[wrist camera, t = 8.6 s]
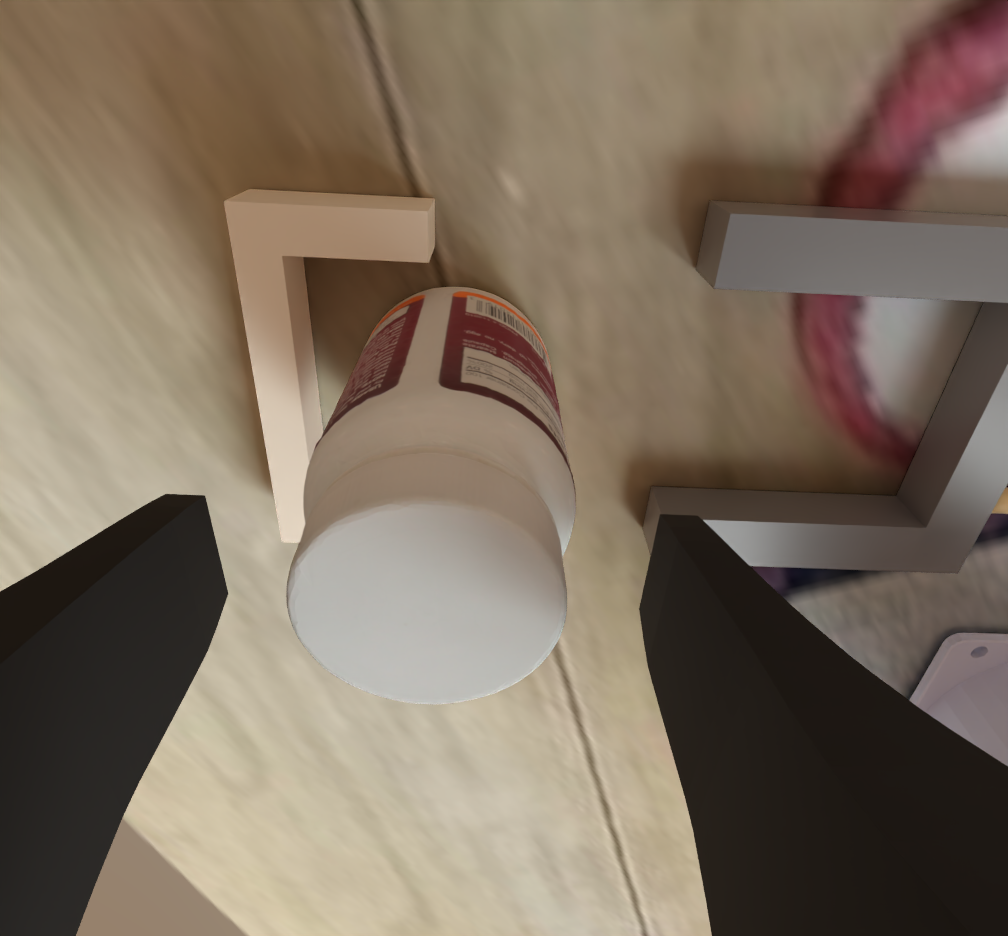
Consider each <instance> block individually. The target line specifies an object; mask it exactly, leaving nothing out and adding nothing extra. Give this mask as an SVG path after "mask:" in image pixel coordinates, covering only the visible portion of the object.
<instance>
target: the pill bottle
mask: <svg viewBox="0 0 1008 936" xmlns="http://www.w3.org/2000/svg"><path fill="white" fill-rule="evenodd" d="M303 509H304V518H305V527H304V530H303V534H302V537H301V540H300V542H299V545H298V548H297V550H296V553H295V555H294V558H293V561H292V564H291V568H290V571H289V576H288V581H287V608H288V613H289V617H290V620H291V623H292V626H293V628H294V630H295V633H296V635H297V637H298V639H299V640H300V641H301V643H302V644H303V646H304V647H305V648H306V649H307V651H308V652H309V653H310V654H311V656H312V657H313V658H314V659H315V660H317V661H318V662H319V664H320V665H321V666H322V667H324V668H325V669H326V670H327V671H329V672H330V673H331V674H333V675H334V676H336V677H337V678H339V679H341V680H343V681H344V682H346V683H348V684H350V685H352V686H354V687H356V688H358V689H360V690H363V691H365V692H368V693H371V694H374V695H377V696H380V697H383V698H387V699H391V700H396V701H402V702H407V703H417V704H448V703H456V702H463V701H469V700H473V699H477V698H482V697H485V696H488V695H491V694H495V693H497V692H499V691H501V690H504V689H506V688H507V687H510V686H512V685H513V684H515V683H517V682H519V681H521V680H522V679H523V678H525V677H526V676H527V675H529V674H530V673H532V672H533V671H534V670H535V669H536V668H537V667H538V666H539V665H540V664H541V663H542V662H543V661H544V660H545V659H546V658H547V656H548V655H549V654H550V652H551V651H552V649H553V648H554V646H555V645H556V643H557V641H558V639H559V637H560V635H561V633H562V630H563V627H564V623H565V618H566V611H567V589H566V581H565V574H564V567H563V559H562V557H563V555H564V553H565V550H566V548H567V546H568V543H569V540H570V537H571V533H572V529H573V524H574V520H575V513H576V494H575V486H574V481H573V476H572V473H571V469H570V464H569V460H568V455H567V449H566V444H565V437H564V433H563V428H562V423H561V417H560V411H559V404H558V399H557V396H556V390H555V384H554V379H553V375H552V370H551V365H550V360H549V356H548V353H547V350H546V347H545V345H544V343H543V340H542V338H541V337H540V335H539V333H538V332H537V330H536V328H535V327H534V326H533V325H532V323H531V322H530V321H529V320H528V319H527V318H526V317H525V315H524V314H523V313H521V312H520V311H519V310H518V309H517V308H516V307H514V306H513V305H512V304H510V303H509V302H507V301H506V300H504V299H502V298H500V297H498V296H496V295H494V294H492V293H488V292H485V291H482V290H478V289H474V288H467V287H441V288H432V289H429V290H425V291H421V292H419V293H417V294H415V295H412V296H410V297H408V298H407V299H405V300H403V301H402V302H400V303H398V304H397V305H396V306H394V307H393V308H392V309H391V310H389V312H388V313H387V314H386V315H385V316H384V317H383V318H382V319H381V320H380V321H379V323H378V324H377V325H376V326H375V328H374V330H373V332H372V333H371V335H370V337H369V339H368V341H367V343H366V345H365V346H364V349H363V351H362V353H361V355H360V357H359V360H358V362H357V364H356V366H355V368H354V370H353V372H352V374H351V376H350V378H349V381H348V383H347V385H346V387H345V389H344V391H343V394H342V395H341V397H340V399H339V401H338V403H337V406H336V408H335V411H334V413H333V415H332V417H331V418H330V420H329V423H328V425H327V427H326V429H325V430H324V432H323V434H322V437H321V439H320V440H319V441H318V442H317V444H316V446H315V449H314V452H313V454H312V457H311V460H310V463H309V466H308V469H307V474H306V479H305V484H304V494H303Z"/></svg>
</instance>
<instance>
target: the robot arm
mask: <svg viewBox="0 0 1008 936" xmlns="http://www.w3.org/2000/svg"><path fill="white" fill-rule="evenodd" d="M227 595H228V590H227V586H226V582H225V578H224V574H223V569H222V565H221V561H220V557H219V553H218V548H217V544H216V540H215V536H214V532H213V527H212V523H211V519H210V515H209V510H208V506H207V502H206V498H205V496H202V495H177V494H165V495H163V496H161V497H159V498H157V499H155V500H154V501H152V502H150V503H148V504H146V505H145V506H143V507H141V508H139V509H138V510H136V511H134V512H133V513H131V514H129V515H128V516H126V517H124V518H123V519H121V520H119V521H118V522H116V523H115V524H113V525H111V526H110V527H108V528H106V529H105V530H103V531H102V532H100V533H98V534H97V535H95V536H93V537H92V538H90V539H89V540H87V541H85V542H84V543H82V544H80V545H79V546H77V547H75V548H74V549H72V550H71V551H69V552H67V553H66V554H64V555H62V556H61V557H59V558H57V559H56V560H54V561H52V562H51V563H49V564H48V565H46V566H44V567H43V568H41V569H39V570H38V571H36V572H34V573H32V574H31V575H29V576H27V577H25V578H24V579H22V580H20V581H18V582H17V583H15V584H13V585H11V586H9V587H8V588H6V589H4V590H2V591H1V592H0V936H76V933H77V931H78V928H79V926H80V923H81V920H82V918H83V914H84V912H85V910H86V907H87V904H88V901H89V899H90V897H91V894H92V891H93V889H94V886H95V883H96V881H97V879H98V876H99V874H100V871H101V869H102V866H103V864H104V861H105V859H106V856H107V854H108V851H109V849H110V847H111V844H112V842H113V839H114V837H115V834H116V832H117V830H118V827H119V824H120V822H121V820H122V817H123V815H124V813H125V811H126V809H127V806H128V804H129V802H130V800H131V798H132V796H133V794H134V792H135V790H136V788H137V785H138V783H139V781H140V780H141V778H142V776H143V774H144V772H145V770H146V768H147V766H148V764H149V762H150V761H151V759H152V757H153V755H154V753H155V751H156V749H157V747H158V745H159V743H160V742H161V740H162V738H163V736H164V734H165V732H166V730H167V728H168V726H169V725H170V723H171V721H172V719H173V717H174V715H175V713H176V711H177V709H178V707H179V706H180V704H181V702H182V700H183V698H184V696H185V694H186V692H187V690H188V688H189V686H190V684H191V683H192V681H193V679H194V677H195V675H196V673H197V671H198V669H199V667H200V665H201V663H202V661H203V659H204V657H205V655H206V653H207V651H208V649H209V646H210V643H211V641H212V638H213V635H214V633H215V630H216V628H217V625H218V622H219V619H220V616H221V613H222V610H223V607H224V604H225V601H226V598H227ZM639 610H640V617H641V624H642V631H643V639H644V645H645V651H646V657H647V663H648V668H649V672H650V675H651V679H652V683H653V686H654V690H655V693H656V697H657V701H658V704H659V708H660V711H661V715H662V718H663V722H664V725H665V729H666V732H667V736H668V739H669V743H670V746H671V750H672V753H673V757H674V760H675V764H676V767H677V771H678V774H679V778H680V781H681V785H682V788H683V792H684V795H685V799H686V803H687V807H688V811H689V815H690V819H691V824H692V828H693V832H694V837H695V843H696V848H697V854H698V859H699V864H700V870H701V875H702V881H703V886H704V892H705V897H706V903H707V909H708V915H709V921H710V926H711V932H712V936H1008V634H990V633H956V634H953V635H951V636H949V637H948V638H946V639H945V641H944V642H943V643H942V645H941V647H940V648H939V650H938V652H937V654H936V655H935V657H934V659H933V660H932V662H931V664H930V666H929V667H928V669H927V671H926V672H925V674H924V676H923V678H922V679H921V681H920V683H919V684H918V686H917V688H916V690H915V691H914V693H913V695H912V696H911V698H910V700H908V699H906V698H905V697H904V696H902V695H901V694H900V693H898V692H897V691H896V690H894V689H893V688H892V687H890V686H889V685H888V684H886V683H885V682H883V681H882V680H881V679H879V678H878V677H877V676H875V675H874V674H873V673H871V672H870V671H869V670H867V669H866V668H865V667H864V666H862V665H861V664H860V663H859V662H857V661H856V660H855V659H853V658H852V657H851V656H850V655H848V654H847V653H846V652H845V651H844V650H842V649H841V648H840V647H839V646H838V645H837V644H835V643H834V642H833V641H832V640H831V639H829V638H828V637H827V636H826V635H825V634H823V633H822V632H821V631H820V630H819V629H818V628H816V627H815V626H814V625H813V624H812V623H810V622H809V621H808V620H807V619H806V618H805V617H804V616H803V615H802V614H800V613H799V612H798V611H797V610H796V609H795V608H794V607H793V606H791V605H790V604H789V603H788V602H787V601H786V600H785V599H784V598H783V597H782V596H781V595H779V594H778V593H777V592H776V591H775V590H774V589H773V588H772V587H771V586H770V585H769V584H768V583H767V582H766V581H765V580H764V579H763V578H762V577H761V576H759V575H758V574H757V573H756V572H755V571H754V570H753V569H752V568H751V567H750V566H749V565H748V564H747V563H746V562H745V561H744V560H743V559H742V558H741V557H740V556H739V555H738V554H737V553H736V552H735V551H734V550H733V549H732V548H731V547H730V546H729V545H728V544H727V543H726V542H725V541H724V540H723V539H722V538H721V537H720V536H719V535H718V534H717V533H716V532H715V531H714V530H713V529H712V528H711V527H710V526H709V525H707V524H706V523H705V522H704V521H703V520H702V519H701V518H700V517H699V516H696V515H671V514H660V516H659V520H658V525H657V530H656V534H655V539H654V543H653V548H652V553H651V557H650V562H649V566H648V571H647V576H646V580H645V585H644V589H643V594H642V599H641V603H640V608H639Z"/></svg>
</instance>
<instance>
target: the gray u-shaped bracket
mask: <svg viewBox="0 0 1008 936" xmlns="http://www.w3.org/2000/svg"><path fill="white" fill-rule="evenodd" d="M696 271H697V272H698V273H699V274H700V275H701V276H702V277H703V278H704V279H705V280H706V281H707V282H708V283H709V284H710V285H711V286H712V287H713V288H714V289H729V290H750V291H771V292H792V293H812V294H833V295H854V296H875V297H896V298H917V299H937V300H958V301H979V302H984V303H983V305H982V307H981V309H980V312H979V314H978V316H977V318H976V320H975V323H974V325H973V327H972V329H971V331H970V334H969V336H968V338H967V340H966V343H965V345H964V347H963V349H962V351H961V354H960V356H959V358H958V360H957V362H956V365H955V367H954V369H953V371H952V374H951V376H950V378H949V380H948V382H947V385H946V387H945V389H944V391H943V394H942V396H941V398H940V400H939V402H938V405H937V407H936V409H935V411H934V413H933V416H932V418H931V420H930V422H929V425H928V427H927V429H926V431H925V433H924V436H923V438H922V440H921V442H920V445H919V447H918V449H917V451H916V453H915V456H914V458H913V460H912V462H911V464H910V467H909V469H908V471H907V473H906V476H905V478H904V480H903V482H902V484H901V487H900V489H899V491H898V493H897V495H896V496H885V495H859V494H834V493H808V492H782V491H756V490H730V489H705V488H679V487H653V486H651V491H650V496H649V500H648V505H647V510H646V515H645V520H644V525H643V532H644V535H645V538H646V542H647V545H648V548H649V551H650V555H651V553H652V548H653V543H654V539H655V534H656V530H657V525H658V520H659V516H660V514H671V515H696V516H699V517H700V518H701V519H702V520H703V521H704V522H705V523H706V524H707V525H709V526H710V527H711V528H712V529H713V530H714V531H715V532H716V533H717V534H718V535H719V536H720V537H721V538H722V539H723V540H724V541H725V542H726V543H727V544H728V545H729V546H730V547H731V548H732V549H733V550H734V551H735V552H736V553H737V554H738V555H739V556H740V557H741V558H742V559H743V560H744V561H745V562H746V563H747V564H748V565H749V566H762V567H791V568H819V569H848V570H876V571H904V572H933V573H958V572H959V570H960V568H961V567H962V565H963V563H964V561H965V559H966V558H967V556H968V554H969V552H970V550H971V549H972V547H973V545H974V543H975V541H976V540H977V538H978V536H979V534H980V532H981V531H982V529H983V527H984V525H985V523H986V522H987V520H988V518H989V516H990V514H991V513H1000V514H1008V488H1005V487H1006V486H1007V484H1008V216H999V215H979V214H960V213H941V212H922V211H903V210H883V209H864V208H845V207H826V206H807V205H787V204H768V203H749V202H730V201H711V200H710V202H709V207H708V212H707V217H706V222H705V227H704V231H703V236H702V241H701V246H700V251H699V256H698V261H697V266H696Z"/></svg>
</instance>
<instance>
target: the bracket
mask: <svg viewBox="0 0 1008 936" xmlns="http://www.w3.org/2000/svg"><path fill="white" fill-rule="evenodd" d="M224 207H225V212H226V218H227V224H228V230H229V236H230V242H231V248H232V253H233V259H234V265H235V271H236V277H237V283H238V289H239V294H240V300H241V306H242V312H243V318H244V324H245V330H246V335H247V341H248V347H249V353H250V359H251V365H252V371H253V376H254V382H255V388H256V394H257V400H258V406H259V412H260V417H261V423H262V429H263V435H264V441H265V447H266V453H267V458H268V464H269V470H270V476H271V482H272V488H273V494H274V500H275V505H276V511H277V517H278V523H279V529H280V535H281V541H282V542H288V543H299V542H300V540H301V537H302V534H303V530H304V527H305V518H304V509H303V494H304V484H305V479H306V474H307V469H308V466H309V463H310V460H311V457H312V454H313V452H314V449H315V446H316V444H317V442H318V441H319V440H320V439H321V437H322V434H323V425H322V416H321V408H320V399H319V390H318V381H317V373H316V364H315V355H314V346H313V338H312V329H311V320H310V311H309V302H308V294H307V285H306V276H305V267H304V259H303V257H318V258H339V259H359V260H380V261H401V262H421V263H429V261H430V258H431V256H432V253H433V250H434V247H435V199H434V198H415V197H395V196H376V195H357V194H337V193H318V192H298V191H279V190H260V189H248V190H246V191H244V192H242V193H240V194H237V195H235V196H233V197H231V198H229V199H227V200H225V201H224Z"/></svg>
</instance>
